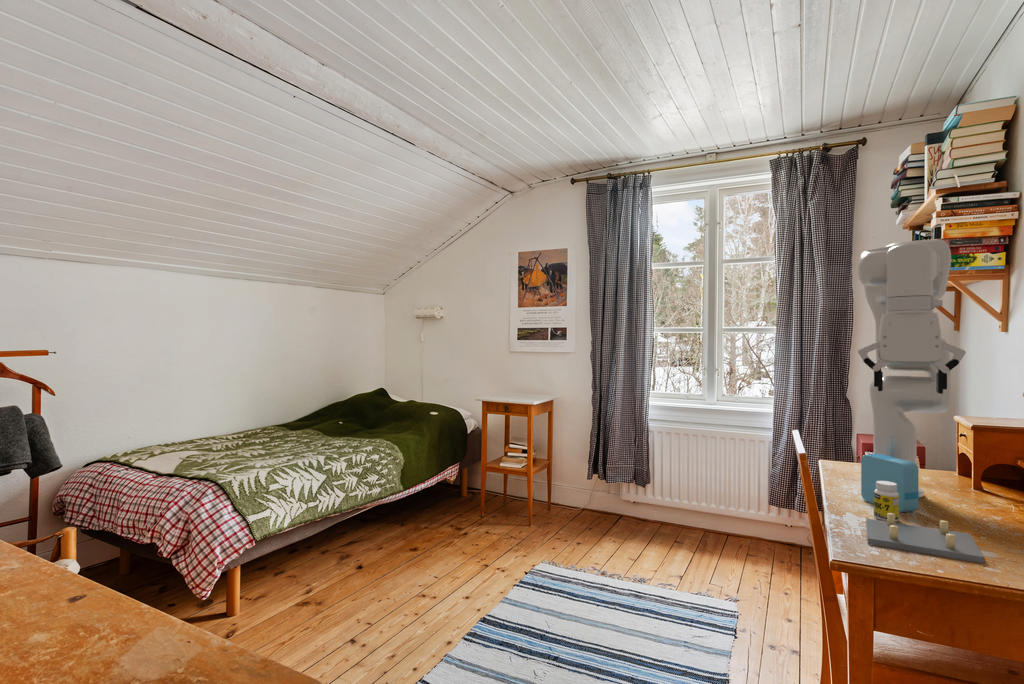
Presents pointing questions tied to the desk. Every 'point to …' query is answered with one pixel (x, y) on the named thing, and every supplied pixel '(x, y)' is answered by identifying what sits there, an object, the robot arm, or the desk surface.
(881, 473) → the data package
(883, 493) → the supplement bottle
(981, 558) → the chassis plate
